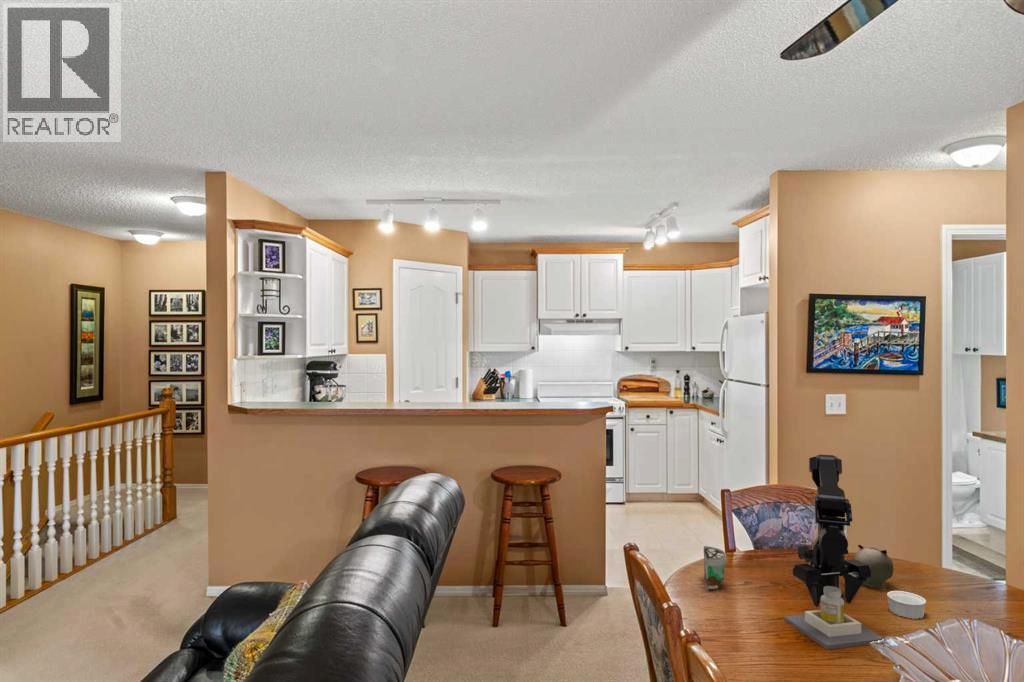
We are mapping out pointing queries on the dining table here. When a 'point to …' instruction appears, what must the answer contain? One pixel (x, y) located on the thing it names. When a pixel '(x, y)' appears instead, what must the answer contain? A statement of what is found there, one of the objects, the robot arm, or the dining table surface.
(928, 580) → the dining table surface
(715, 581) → the food container
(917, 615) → the ramekin
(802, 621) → the bottle holder
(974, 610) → the dining table surface
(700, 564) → the dining table surface
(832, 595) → the supplement bottle
